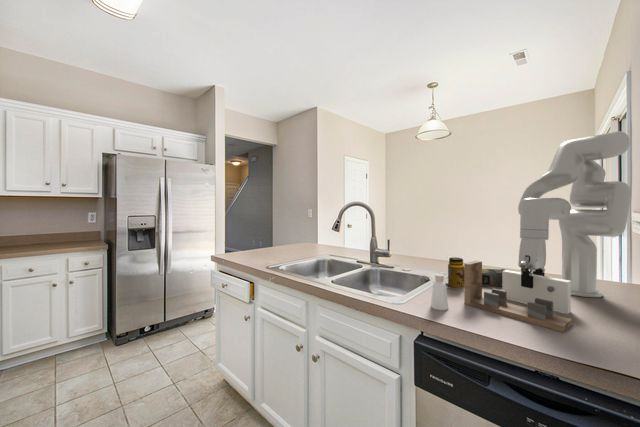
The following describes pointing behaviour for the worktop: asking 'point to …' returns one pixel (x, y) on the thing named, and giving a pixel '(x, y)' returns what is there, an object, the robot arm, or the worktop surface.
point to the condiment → (455, 273)
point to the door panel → (538, 290)
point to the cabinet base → (497, 303)
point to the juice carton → (492, 277)
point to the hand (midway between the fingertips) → (532, 285)
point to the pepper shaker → (439, 293)
